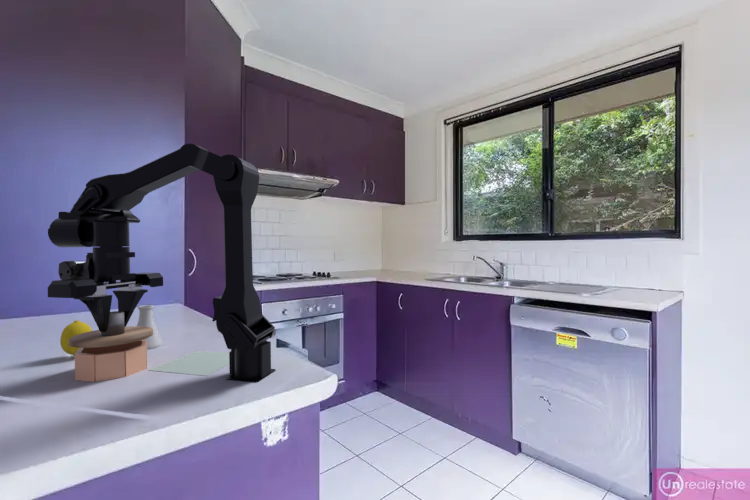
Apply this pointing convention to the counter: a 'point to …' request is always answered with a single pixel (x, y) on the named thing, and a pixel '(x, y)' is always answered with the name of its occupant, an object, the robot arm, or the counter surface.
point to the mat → (196, 363)
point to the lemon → (71, 331)
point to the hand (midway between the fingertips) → (113, 329)
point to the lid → (111, 334)
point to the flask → (148, 321)
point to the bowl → (110, 361)
